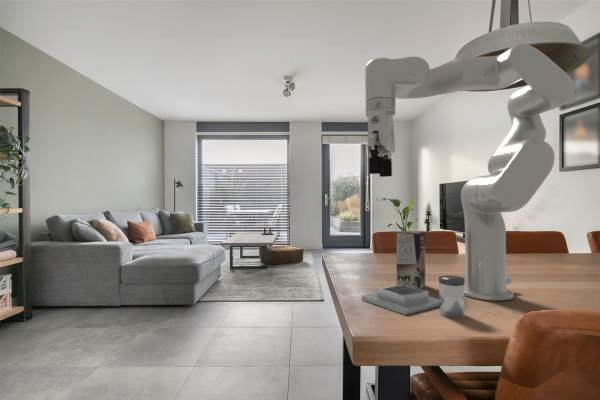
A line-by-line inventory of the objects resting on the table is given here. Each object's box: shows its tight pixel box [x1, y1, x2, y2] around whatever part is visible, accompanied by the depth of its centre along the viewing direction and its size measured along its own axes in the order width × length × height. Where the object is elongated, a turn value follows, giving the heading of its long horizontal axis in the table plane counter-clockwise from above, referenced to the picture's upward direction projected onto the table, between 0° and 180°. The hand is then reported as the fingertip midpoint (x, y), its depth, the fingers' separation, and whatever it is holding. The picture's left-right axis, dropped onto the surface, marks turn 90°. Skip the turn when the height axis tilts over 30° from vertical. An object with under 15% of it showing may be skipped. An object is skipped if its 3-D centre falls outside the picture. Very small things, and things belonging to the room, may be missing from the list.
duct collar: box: [361, 284, 440, 316], centre depth 83 cm, size 14×14×3 cm
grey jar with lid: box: [438, 274, 466, 319], centre depth 73 cm, size 5×5×8 cm
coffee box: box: [396, 230, 426, 290], centre depth 98 cm, size 9×6×16 cm
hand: (381, 175), depth 86 cm, fingers open, 9 cm apart
